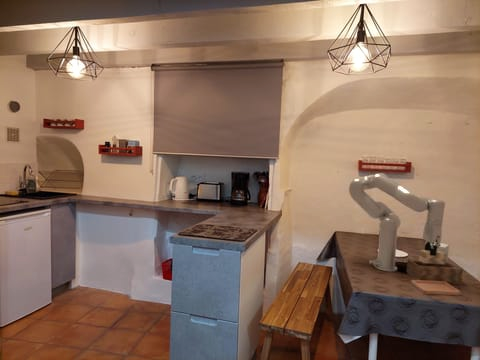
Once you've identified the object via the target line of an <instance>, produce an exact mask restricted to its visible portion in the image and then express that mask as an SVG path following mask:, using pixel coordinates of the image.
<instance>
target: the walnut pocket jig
mask: <svg viewBox="0 0 480 360" xmlns="http://www.w3.org/2000/svg"><path fill="white" fill-rule="evenodd" d="M463 271H464V269H462V268H461V267H459V266H457V265H455V264H454V263H452V262H450V261H448V260H447V261H446V262H445V264H430V263H423V262H421V261H420V260H419V259H413V258H412V259H410V258H407V262H406V272H407V273H406V274H407V275H409V276H410V277H412V278H413V280H427V281H445V282H447V283H448V284H450V285H451V284H452V285H462V281H463V273H464V272H463Z"/></svg>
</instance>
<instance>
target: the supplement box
mask: <svg viewBox="0 0 480 360" xmlns="http://www.w3.org/2000/svg"><path fill="white" fill-rule="evenodd" d="M435 243H436V242H435ZM440 244H441V246H439V247H438V249H437V251H442V252H444V253H446V254H447V255H446V261H448V258H449V250H450V244H447V243H442V242H440ZM434 245H435V244H434Z"/></svg>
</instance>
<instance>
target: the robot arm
mask: <svg viewBox="0 0 480 360" xmlns="http://www.w3.org/2000/svg"><path fill="white" fill-rule="evenodd" d="M348 187H349V188H348V193H349V196H350V197H351V198H352V200H353V201H354V202H355V203H356V204H357V205H358V206H359V207H360V208H361V209H362V210H363V211H364V212H365V213H366V214H367V215H368V216H369V217H370V218H372V219H374V220H375V219H378V220H379V221H380V222H379V237H378V250H377V258H376V259H375V260H369V261H368V263H369V264H370V265H373V266H374V267H375V269H378V270H380V271H383V272H391V273H392V272H397V271H398V267H397V266H396V254H397V240H398V229H399V227H400V225H401V218H400V217H399V216H398V215H397V214H396V213H395V212H394V211H393V210H392V209H391V208H389V206H388V205H386V204H385V203H383V202H381V201H375V199H374V198H372V197H371V196H370V195H369V194H368V193H367V192H366V190H372V189H378V190H379V191H381V192H383V193H385V194H387V195H389V196H391V197H392V198H393V199H395V201H398V203H400V204H401V205H403V206H405V207H408V208H409V209H411V210H412V211H414V212H418V213H423V212H425V211H427V214H426V215H427V216H426V221H425V224H424V228H423V233H422V239H423V240H424V250H429V251H430V255H431V256H436V252H437V249H438V247H439V246H441V244H440V243H442V242H441V241H442V235H443V234H442V231H443V229H442V228H443V227H442V226H443V221H444V215H445V207H446V206H445V205H446V202H445V201H444V200H441V199H437V198H436V199H435V198H434V199H432V198H427V197H425V196H418V195H415V194H413V193H412V192H410V191H408V190H407V189H406V188H405V187H404V185H402V184H401V183H399V182H397V181H395V180H393V179H391V178H390V177H389V176H388V175H387V174H386V173H383V172H380V173H379V172H378V173H375V174H371V175H365V176H360V177H356V178H354V179H352V180H351V182H350V184H349V186H348ZM435 242H436V243H435ZM434 244H435V245H434Z"/></svg>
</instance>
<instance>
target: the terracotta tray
mask: <svg viewBox="0 0 480 360" xmlns="http://www.w3.org/2000/svg"><path fill="white" fill-rule="evenodd" d="M410 284H411V285H412V286H414V287H415V288H416V289H418V290H419V291H420V292H421V293H423V295H437V296H438V295H442V296H443V295H444V296H445V295H446V296H461V295H462V292H461V290H459V289H458V288H456V287H455V286H453V285H451V284H448V283H447V282H445V281H427V280H416V279H411V280H410Z"/></svg>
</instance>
